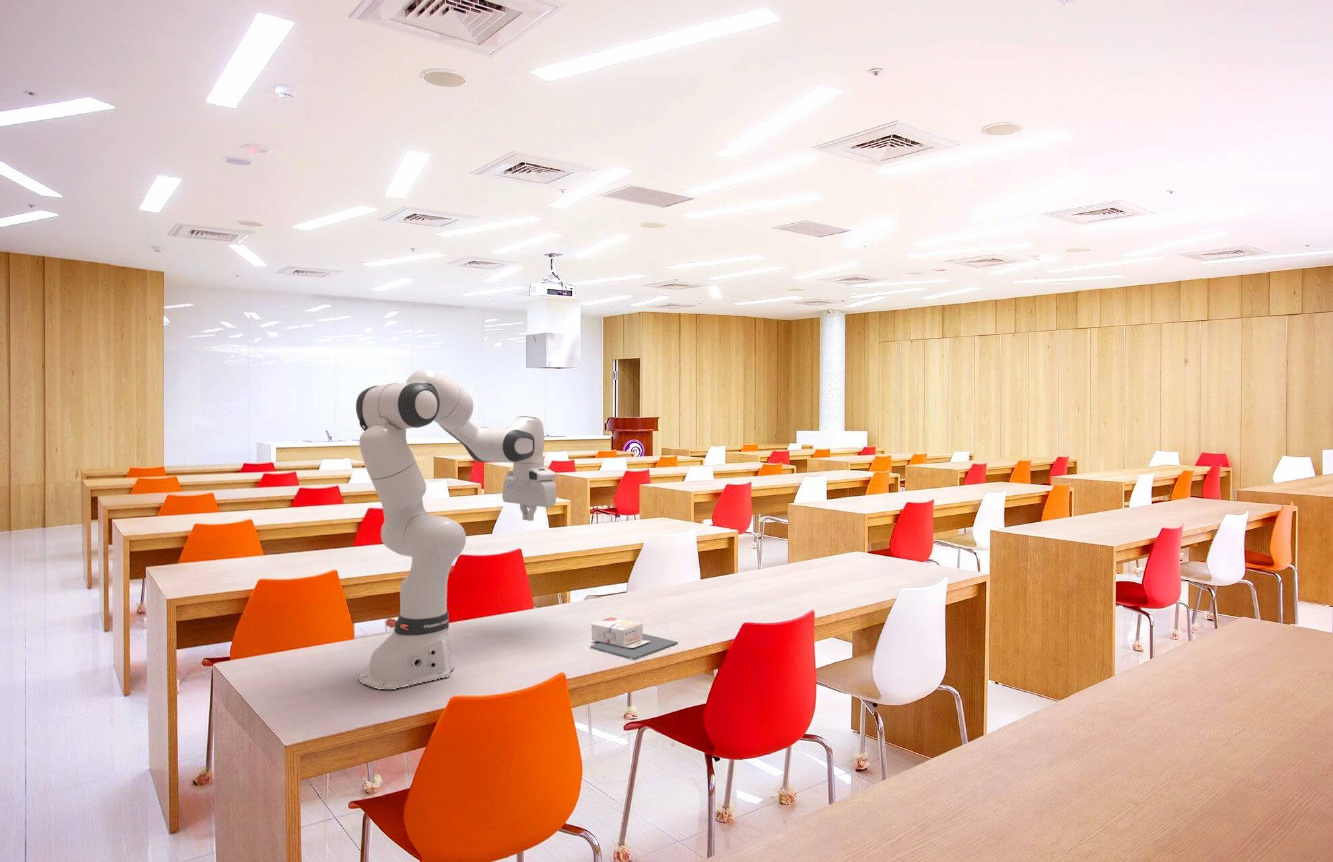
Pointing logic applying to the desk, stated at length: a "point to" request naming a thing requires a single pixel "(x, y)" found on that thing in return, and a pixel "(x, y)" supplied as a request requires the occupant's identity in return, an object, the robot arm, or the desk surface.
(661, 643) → the rubber mat
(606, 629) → the ink cartridge box
